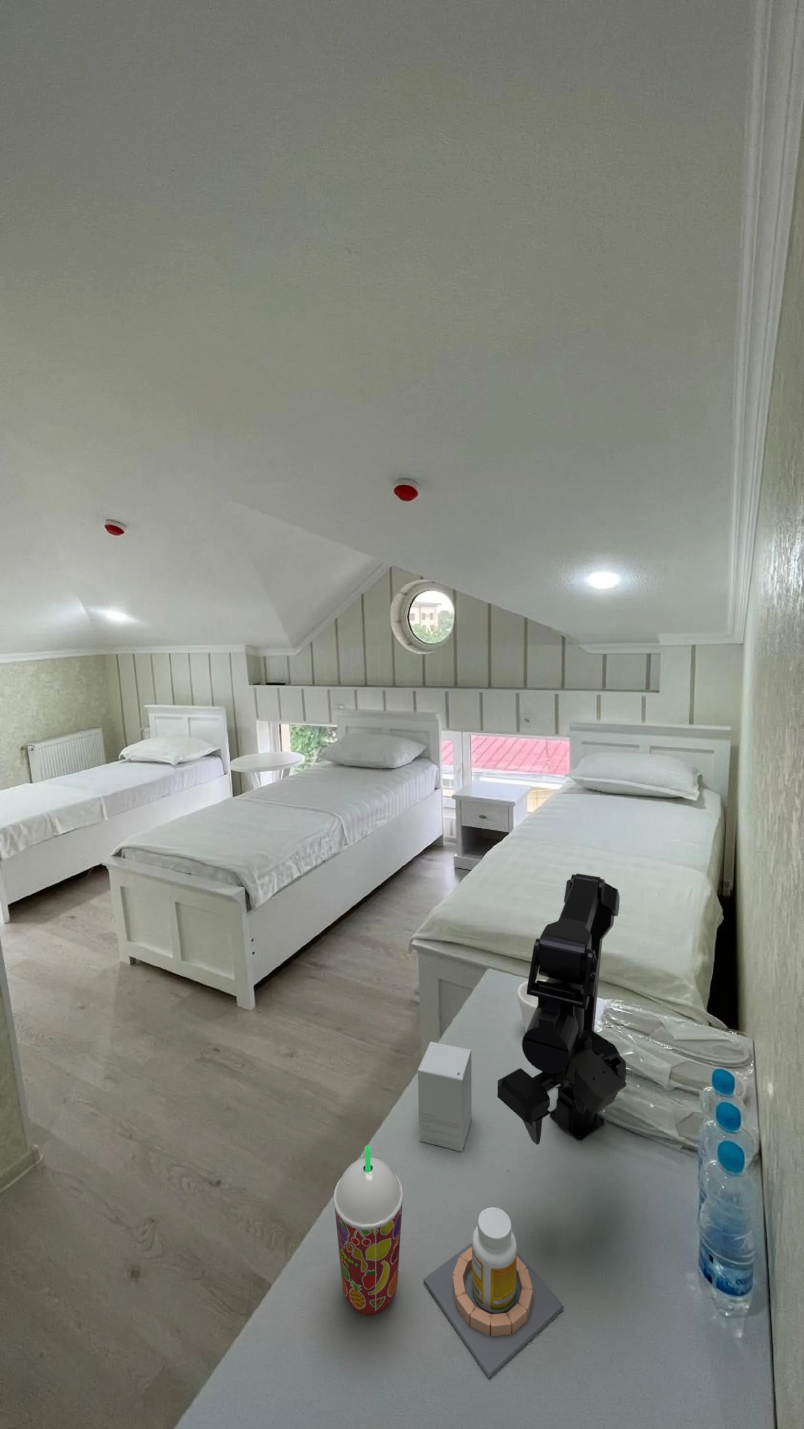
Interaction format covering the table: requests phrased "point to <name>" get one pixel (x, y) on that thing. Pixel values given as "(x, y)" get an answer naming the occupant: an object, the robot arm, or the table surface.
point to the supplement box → (445, 1096)
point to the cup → (527, 1003)
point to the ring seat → (484, 1330)
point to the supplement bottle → (494, 1261)
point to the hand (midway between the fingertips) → (558, 1126)
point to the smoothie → (369, 1233)
